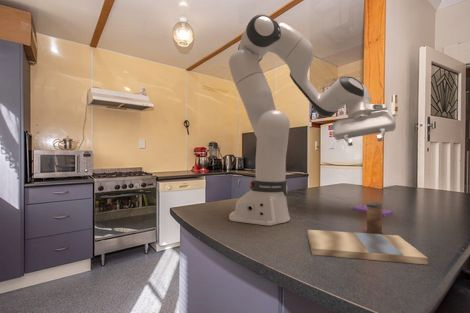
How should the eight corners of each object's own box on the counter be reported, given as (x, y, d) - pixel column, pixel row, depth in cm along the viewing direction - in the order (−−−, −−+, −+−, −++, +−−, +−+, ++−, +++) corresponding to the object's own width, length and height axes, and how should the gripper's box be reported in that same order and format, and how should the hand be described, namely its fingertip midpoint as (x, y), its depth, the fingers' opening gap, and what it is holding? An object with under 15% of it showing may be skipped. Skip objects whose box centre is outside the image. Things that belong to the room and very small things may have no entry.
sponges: (361, 209, 103) (361, 204, 103) (393, 215, 93) (393, 210, 93) (352, 211, 99) (352, 206, 99) (384, 218, 89) (384, 213, 89)
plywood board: (312, 254, 56) (312, 247, 56) (307, 234, 70) (307, 229, 70) (427, 264, 51) (427, 257, 51) (398, 240, 65) (398, 235, 65)
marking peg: (369, 234, 70) (369, 204, 70) (364, 230, 74) (365, 201, 74) (384, 235, 69) (384, 205, 69) (379, 231, 73) (379, 202, 73)
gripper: (330, 115, 94) (331, 141, 86) (391, 103, 84) (398, 131, 76) (333, 126, 98) (335, 152, 90) (391, 115, 88) (399, 143, 80)
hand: (364, 142), depth 83 cm, fingers open, 8 cm apart
